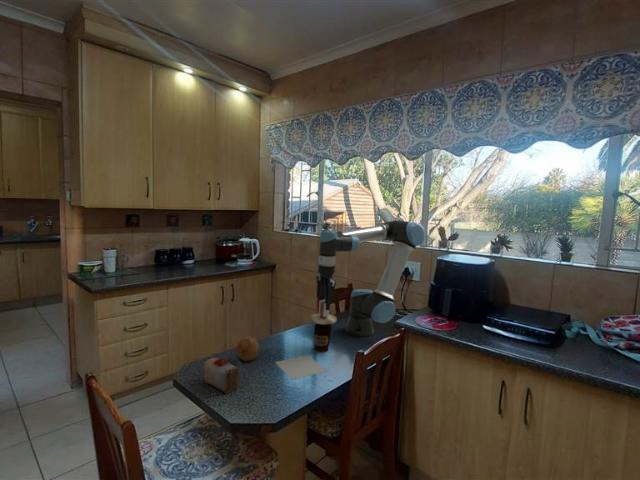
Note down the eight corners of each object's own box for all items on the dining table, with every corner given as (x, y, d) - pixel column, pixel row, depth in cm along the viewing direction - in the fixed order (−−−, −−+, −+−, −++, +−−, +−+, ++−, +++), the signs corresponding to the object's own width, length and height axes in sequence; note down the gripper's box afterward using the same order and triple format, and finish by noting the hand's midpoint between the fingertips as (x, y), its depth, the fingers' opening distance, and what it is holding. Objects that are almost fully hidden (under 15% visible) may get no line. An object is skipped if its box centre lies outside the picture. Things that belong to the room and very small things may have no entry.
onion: (239, 353, 153) (239, 332, 152) (261, 355, 153) (262, 333, 152) (232, 364, 143) (233, 340, 142) (256, 365, 143) (257, 342, 142)
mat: (307, 356, 154) (308, 355, 154) (327, 372, 141) (327, 371, 141) (274, 363, 146) (274, 362, 146) (291, 381, 132) (291, 379, 132)
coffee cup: (328, 355, 156) (330, 327, 155) (310, 353, 158) (312, 325, 157) (332, 348, 165) (333, 321, 164) (315, 345, 166) (316, 319, 165)
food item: (200, 382, 128) (200, 357, 127) (217, 374, 134) (218, 350, 133) (224, 396, 120) (225, 368, 119) (242, 386, 127) (243, 360, 126)
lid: (327, 314, 168) (328, 297, 167) (341, 322, 158) (342, 304, 157) (305, 317, 162) (306, 300, 161) (319, 325, 152) (320, 307, 151)
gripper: (310, 262, 162) (308, 310, 165) (329, 268, 148) (326, 321, 151) (324, 261, 166) (321, 309, 169) (343, 267, 152) (340, 319, 155)
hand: (323, 315), depth 160 cm, fingers closed on lid, 3 cm apart
